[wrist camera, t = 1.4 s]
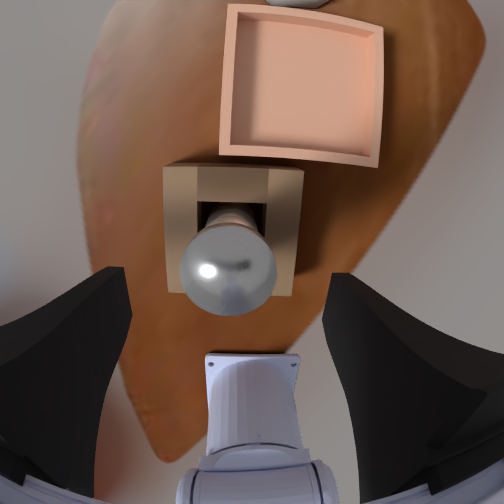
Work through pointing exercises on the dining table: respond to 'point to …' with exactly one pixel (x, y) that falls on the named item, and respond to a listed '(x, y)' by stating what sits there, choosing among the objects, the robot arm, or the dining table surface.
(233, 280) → the pin
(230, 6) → the tray
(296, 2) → the flask
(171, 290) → the brown square frame
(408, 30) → the dining table surface
